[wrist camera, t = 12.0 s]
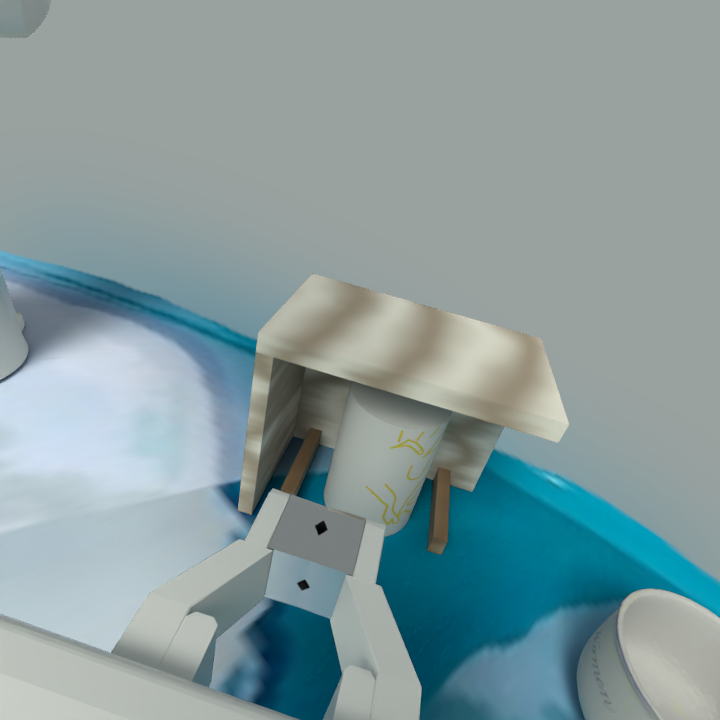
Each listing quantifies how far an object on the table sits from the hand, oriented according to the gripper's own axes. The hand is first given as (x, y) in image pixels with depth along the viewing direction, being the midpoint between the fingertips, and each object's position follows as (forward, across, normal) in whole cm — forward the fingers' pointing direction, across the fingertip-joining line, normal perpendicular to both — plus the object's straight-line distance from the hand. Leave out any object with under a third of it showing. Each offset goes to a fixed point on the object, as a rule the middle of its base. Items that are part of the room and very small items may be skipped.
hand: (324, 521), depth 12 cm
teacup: (+8, -22, +22) cm, 33 cm away
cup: (+22, -2, +23) cm, 32 cm away
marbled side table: (+22, -2, +22) cm, 32 cm away
